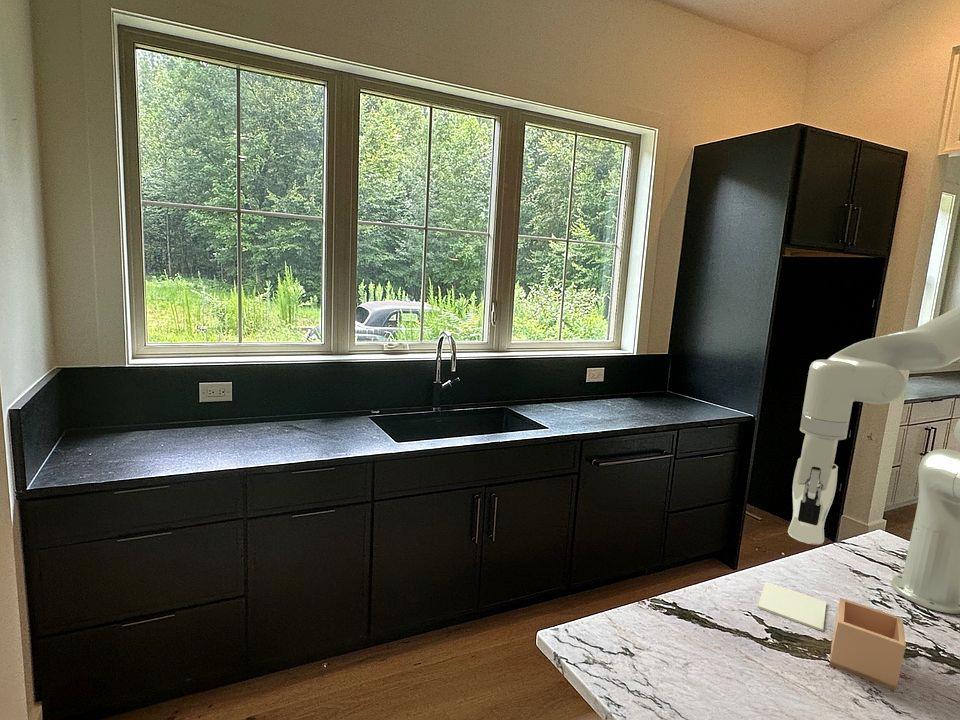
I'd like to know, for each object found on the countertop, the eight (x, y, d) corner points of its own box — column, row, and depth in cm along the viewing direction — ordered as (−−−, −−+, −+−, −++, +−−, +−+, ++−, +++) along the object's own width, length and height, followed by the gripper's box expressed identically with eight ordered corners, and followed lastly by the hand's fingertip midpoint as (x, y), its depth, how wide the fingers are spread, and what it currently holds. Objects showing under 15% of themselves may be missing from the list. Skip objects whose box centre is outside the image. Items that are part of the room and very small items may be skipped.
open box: (832, 637, 99) (839, 597, 98) (893, 660, 94) (902, 618, 93) (829, 665, 92) (837, 622, 91) (896, 691, 87) (905, 645, 86)
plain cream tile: (765, 583, 116) (765, 581, 116) (826, 603, 110) (826, 602, 110) (757, 607, 107) (757, 605, 107) (822, 631, 101) (823, 629, 101)
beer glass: (832, 548, 102) (846, 471, 99) (792, 542, 103) (804, 467, 101) (817, 531, 109) (830, 459, 106) (780, 526, 110) (791, 455, 107)
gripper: (804, 413, 111) (791, 496, 114) (796, 432, 97) (781, 526, 100) (848, 421, 107) (833, 507, 110) (846, 441, 93) (829, 539, 96)
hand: (809, 515), depth 105 cm, fingers closed on beer glass, 6 cm apart
